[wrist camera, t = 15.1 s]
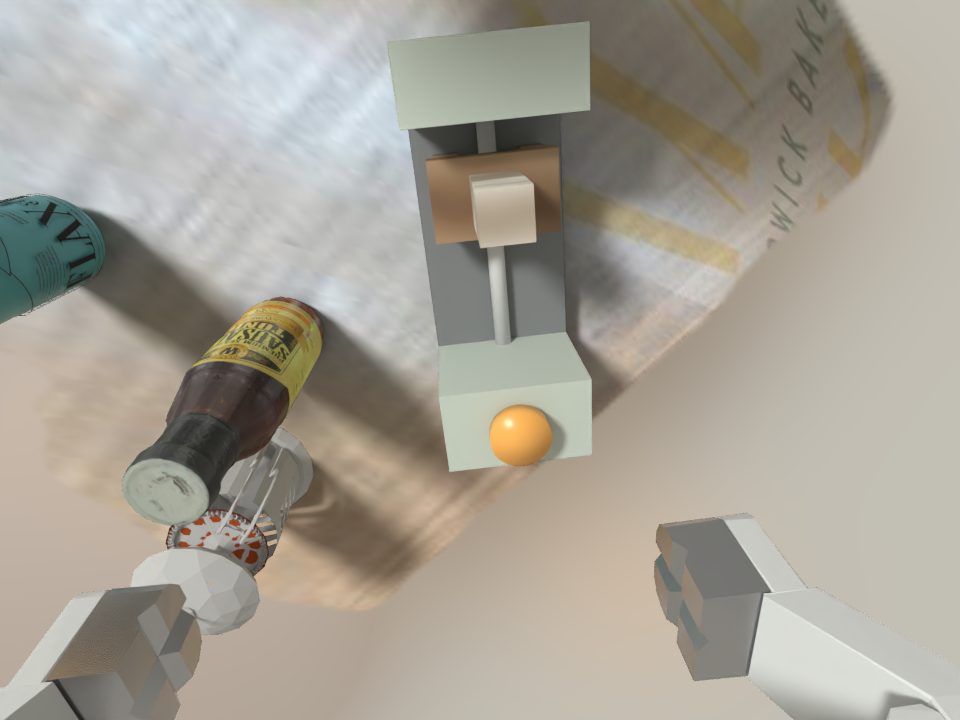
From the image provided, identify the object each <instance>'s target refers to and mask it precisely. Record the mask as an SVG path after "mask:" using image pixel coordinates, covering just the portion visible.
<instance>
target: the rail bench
mask: <svg viewBox="0 0 960 720" xmlns="http://www.w3.org/2000/svg"><path fill="white" fill-rule="evenodd" d="M387 48H388V55H389V62H390V68H391V75H392V82H393V89H394V96H395V103H396V109H397V116H398V123H399V130H407V129H408V131H409V138H410V146H411V153H412V160H413V167H414V174H415V181H416V188H417V196H418V203H419V210H420V217H421V224H422V231H423V239H424V246H425V253H426V260H427V267H428V274H429V281H430V289H431V296H432V303H433V310H434V317H435V324H436V331H437V339H438V346H439V403H440V410H441V417H442V424H443V430H444V437H445V444H446V451H447V458H448V464H449V471H450V472H453V471H461V470H470V469H478V468H487V467H495V466H503V465H509V464H506V463H504V462H502V461H501V460H499V459H498V458H497V457H496V456H495V454H494V453H493V451H492V448H491V442H490V436H489V428H490V424H491V422H492V420H493V418H494V417H495V416H496V415H497V414H498V413H499V412H500V411H501V410H503V409H505V408H507V407H509V406H513V405H520V404H523V405H530V406H533V407H535V408H537V409H539V410H540V411H541V412H542V413H543V414H544V415H545V417H546V418H547V420H548V423H549V426H550V429H551V433H552V444H551V447H550V449H549V451H548V452H547V453H546V455H545V456H544V457H542V458H541V459H540V460H538V461H545V460H554V459H562V458H571V457H579V456H587V455H592V379H591V377H590V375H589V374H588V372H587V370H586V368H585V366H584V364H583V362H582V361H581V359H580V357H579V355H578V353H577V351H576V350H575V348H574V346H573V344H572V342H571V340H570V338H569V337H568V335H567V333H566V316H565V280H564V244H563V208H562V172H561V135H560V113H568V112H577V111H587V110H590V21H585V22H575V23H565V24H556V25H546V26H536V27H526V28H516V29H507V30H497V31H487V32H477V33H468V34H458V35H448V36H438V37H429V38H419V39H409V40H399V41H390V42H387ZM537 143H541V144H544V145H546V146H552V145H554V146H556V147H558V148H559V181H560V215H561V231H554V232H545V233H536V242H532V243H523V244H514V245H505V246H496V247H487V248H480V245H479V241H478V240H473V241H464V242H455V243H446V244H437V245H436V238H435V230H434V222H433V215H432V207H431V199H430V192H429V184H428V176H427V169H426V159H431V158H433V155H435V154H444V153H453V152H457V154H458V156H459V155H468V154H478V153H487V152H496V151H506V150H515V149H517V146H519V145H528V144H537Z"/></svg>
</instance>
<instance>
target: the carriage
mask: <svg viewBox="0 0 960 720" xmlns="http://www.w3.org/2000/svg"><path fill="white" fill-rule="evenodd" d="M426 169H427V176H428V184H429V192H430V199H431V207H432V215H433V222H434V230H435V238H436V245H437V244H446V243H455V242H464V241H473V240H478V241H479V245H480V248H487V247H496V246H505V245H514V244H523V243H532V242H536V233H545V232H554V231H561V215H560V181H559V148H558V147H556V146H554V145H552V146H546V145H544V144H541V143H537V144H528V145H519V146H517V149H515V150H506V151H496V152H487V153H478V154H468V155H459V156H458V154H457V152H453V153H444V154H435V155H433V158H431V159H426Z"/></svg>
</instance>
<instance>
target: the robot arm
mask: <svg viewBox="0 0 960 720" xmlns="http://www.w3.org/2000/svg"><path fill="white" fill-rule="evenodd" d="M656 543H657V545H658V548H659V549H660V552H661V555H660V556H659V557H658V558H657V559H656V561H655V564H654V565H655V566H654V578H655V584H656V591H657V595H658V598H659V601H660V605H661V607H662V610H663V612H664V614H665V616H666V619H667V620H669V621H670V622H672V623H673V624H674V625H676V626H677V627H678V635H677V644H678V646H679V649H680V651H681V653H682V656H683V658H684V660H685V662H686V665H687V667H688V669H689V671H690V674H691V676H692V678H693V680H694V681H699V680H709V679H720V678H730V677H741V676H748V679H749V681H751V682H752V683H753V684H754V685H755V686H756V687H757V688H759V689H760V690H761V691H762V692H763V693H764V694H765V695H767V696H768V697H769V698H770V699H771V700H772V701H773V702H774V703H776V704H777V705H778V706H779V707H780V708H781V709H783V710H784V711H785V712H786V713H787V714H788V715H789V716H790V717H792V718H793V719H794V720H960V667H959V666H957V665H955V664H953V663H951V662H950V661H948V660H946V659H944V658H942V657H941V656H939V655H937V654H935V653H934V652H932V651H930V650H928V649H926V648H924V647H923V646H921V645H919V644H917V643H916V642H914V641H912V640H910V639H909V638H907V637H905V636H903V635H901V634H900V633H898V632H896V631H894V630H892V629H891V628H889V627H887V626H885V625H884V624H882V623H880V622H878V621H876V620H875V619H872V618H871V617H869V616H867V615H866V614H864V613H862V612H860V611H858V610H857V609H855V608H853V607H851V606H850V605H848V604H846V603H844V602H842V601H841V600H839V599H837V598H835V597H833V596H832V595H830V594H828V593H826V592H825V591H823V590H821V589H819V588H817V587H816V588H807V587H806V585H805V584H804V583H803V581H802V580H801V579H800V577H799V576H798V575H797V573H796V572H795V571H794V570H793V568H792V567H791V566H790V564H789V563H788V562H787V560H786V559H785V558H784V556H783V555H782V554H781V553H780V551H779V550H778V549H777V547H776V546H775V545H774V544H773V542H772V541H771V540H770V538H769V537H768V536H767V534H766V533H765V532H764V530H763V529H762V528H761V526H760V525H759V524H758V522H757V521H756V520H755V518H754V517H753V516H751V515H750V514H748V513H742V514H735V515H727V516H720V517H717V518H714V517H713V518H705V519H697V520H690V521H682V522H674V523H666V524H659V527H658V529H657V533H656ZM186 599H187V598H186V596H185V594H184V593H183V591H182V589H181V587H180V585H178V584H160V585H150V586H139V587H129V588H118V589H112V590H104V591H93V592H83V593H81V594H79V595H78V596H76V597H75V598H73V599H72V600H71V601H70V602H69V604H68V605H67V607H66V608H65V609H64V610H63V612H62V613H61V614H60V616H59V617H58V618H57V620H56V621H55V622H54V624H53V625H52V626H51V628H50V629H49V631H48V632H47V633H46V635H45V636H44V637H43V639H42V640H41V641H40V643H39V644H38V645H37V647H36V648H35V650H34V651H33V652H32V654H31V655H30V656H29V658H28V659H27V660H26V662H25V663H24V664H23V666H22V667H21V668H20V670H19V671H18V672H17V674H16V675H15V677H14V678H13V679H12V681H11V682H10V683H9V685H8V686H7V687H3V688H0V720H174V718H175V716H176V714H177V711H178V709H179V707H180V701H179V698H178V695H177V691H178V690H179V689H180V688H181V687H182V686H184V685H185V684H186V683H187V682H188V681H189V680H190V679H191V678H192V676H193V674H194V671H195V669H196V666H197V664H198V661H199V656H200V650H201V642H202V640H201V632H200V627H199V625H198V622H197V620H196V618H195V617H194V616H193V615H191V614H189V613H188V612H186V611H184V610H183V609H182V607H183V605H184V603H185V601H186Z"/></svg>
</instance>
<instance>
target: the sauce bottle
mask: <svg viewBox="0 0 960 720" xmlns="http://www.w3.org/2000/svg"><path fill="white" fill-rule="evenodd" d="M323 339H324V330H323V326H322V323H321V321H320V319H319V317H318V316H317V315H316V313H315V312H314V311H313V310H312V309H311V308H310V307H308V306H306V305H305V304H303V303H301V302H299V301H297V300H293V299H291V298H284V297H278V298H272V299H270V300H265V301H264V302H262V303H259V304H257V305H255V306H253V307H252V308H250V309H249V310H248V311H247V312H246V313H245V314H244V315H243V316H242V317H241V318H240V319H239V320H238V321H237V322H236V323H235V324H234V325H233V326H232V327H231V328H230V329H229V330H228V331H227V332H226V333H225V334H224V335H223V336H222V337H221V338H220V339H219V340H218V341H217V342H216V343H215V344H214V345H213V346H212V347H211V348H210V349H209V350H208V351H207V352H206V353H205V354H204V355H203V356H202V357H201V358H200V359H199V360H198V361H197V362H196V363H195V364H194V366H192V367H191V368H190V369H189V370H188V372H187V373H186V375H185V377H184V379H183V381H182V383H181V386H180V388H179V390H178V392H177V394H176V397H175V399H174V401H173V403H172V406H171V408H170V410H169V412H168V415H167V419H166V422H167V427H166V429H165V431H164V433H163V434H162V436H161V437H160V438H159V439H158V440H157V441H156V442H155V443H154V445H153V446H150V447H149V448H147V449H146V450H144V451H142V452H141V453H140V454H139V455H138V456H137V457H136V459H135V460H134V461H133V462H132V464H131V465H130V466H129V467H128V469H127V471H126V472H125V475H124V477H123V481H122V491H123V494H124V497H125V499H126V501H127V502H128V504H129V505H130V506H131V507H132V508H133V509H134V510H135V511H136V512H137V513H139V514H141V515H142V516H143V517H144V518H146V519H149V520H151V521H153V522H156V523H160V524H164V525H186V524H190V523H193V522H195V521H197V520H198V519H200V518H201V517H202V516H203V515H204V514H205V513H206V512H207V511H208V509H209V508H210V506H211V505H212V504H213V503H214V501H215V500H216V498H217V497H218V495H219V493H220V489H221V481H222V479H223V477H224V476H225V474H226V473H227V471H228V470H229V469H230V468H231V467H232V466H233V465H234V464H235V462H238V461H241V460H243V459H246V458H248V457H250V456H253V455H255V454H256V453H258V452H259V451H260V450H261V449H262V448H264V447H265V446H266V445H267V444H268V443H269V441H270V440H271V439H272V437H273V435H274V434H275V433H276V430H277V428H278V426H279V425H280V424H281V423H282V422H283V421H284V419H285V417H286V416H287V414H288V412H289V410H290V408H291V407H292V405H293V403H294V401H295V399H296V397H297V396H298V394H299V392H300V390H301V388H302V386H303V385H304V383H305V381H306V379H307V378H308V376H309V374H310V372H311V370H312V369H313V367H314V365H315V363H316V361H317V360H318V358H319V355H320V352H321V347H322V344H323Z"/></svg>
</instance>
